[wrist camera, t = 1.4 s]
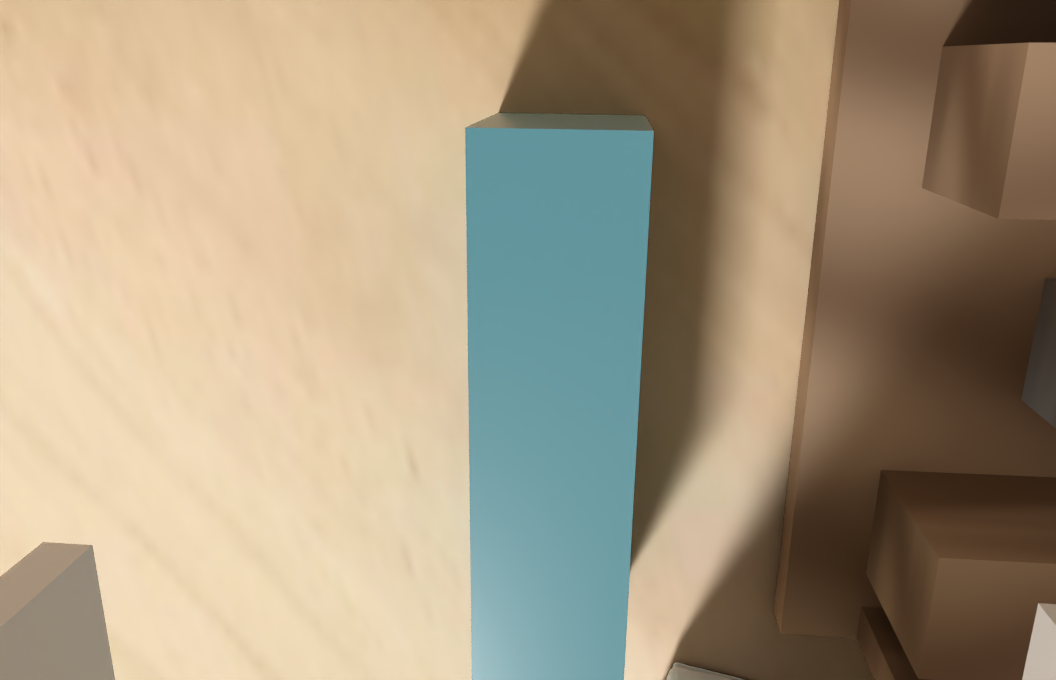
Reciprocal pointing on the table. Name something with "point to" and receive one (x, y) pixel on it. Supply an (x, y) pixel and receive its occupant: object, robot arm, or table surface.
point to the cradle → (930, 345)
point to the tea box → (695, 673)
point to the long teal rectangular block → (554, 387)
